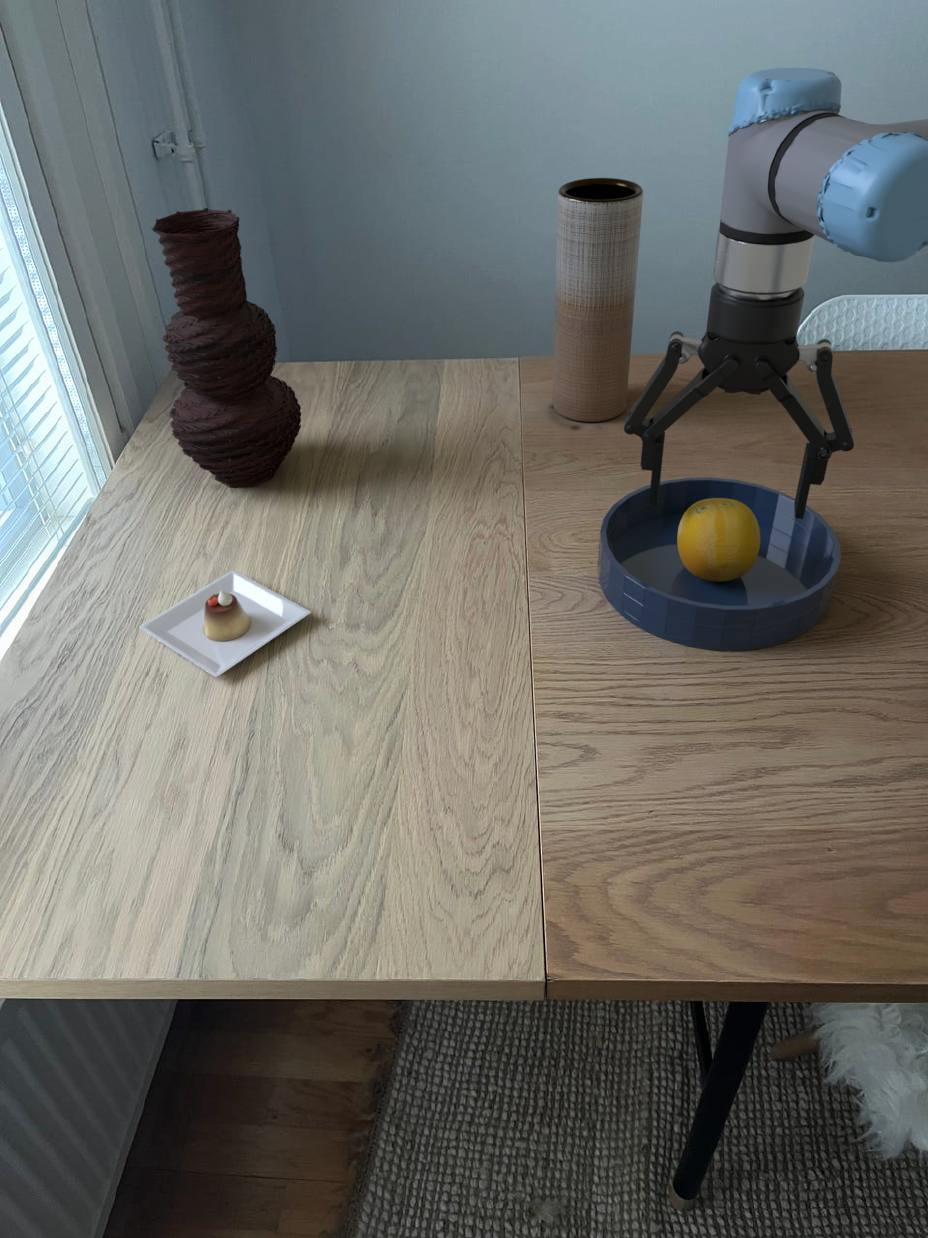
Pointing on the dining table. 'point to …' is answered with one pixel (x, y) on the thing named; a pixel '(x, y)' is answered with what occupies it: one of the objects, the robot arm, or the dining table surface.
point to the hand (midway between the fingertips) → (725, 504)
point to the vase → (223, 355)
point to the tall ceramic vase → (595, 296)
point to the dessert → (224, 622)
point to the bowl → (707, 610)
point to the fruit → (718, 539)
